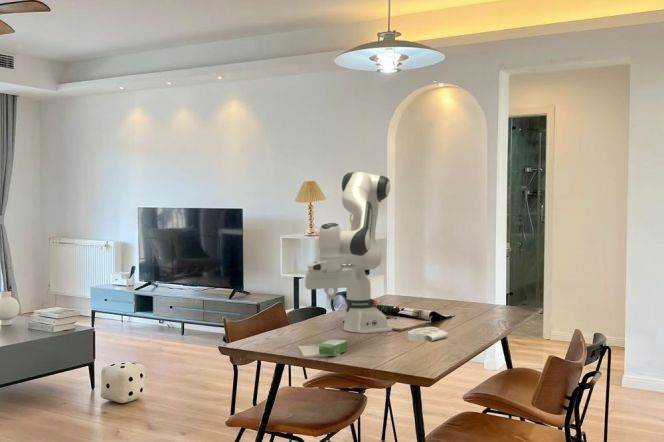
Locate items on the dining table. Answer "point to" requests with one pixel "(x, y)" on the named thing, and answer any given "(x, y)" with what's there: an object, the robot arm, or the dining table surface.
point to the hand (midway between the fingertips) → (331, 299)
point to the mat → (312, 351)
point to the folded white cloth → (426, 334)
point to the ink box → (332, 347)
